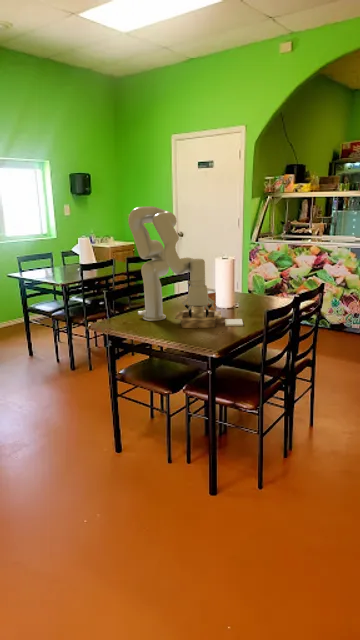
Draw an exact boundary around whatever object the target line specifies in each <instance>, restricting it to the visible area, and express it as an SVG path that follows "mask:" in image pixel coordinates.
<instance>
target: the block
mask: <svg viewBox="0 0 360 640" xmlns="http://www.w3.org/2000/svg"><path fill="white" fill-rule="evenodd" d="M192 310H193V313H194V318H204V307H203V306H192Z"/></svg>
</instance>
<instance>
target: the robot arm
mask: <svg viewBox="0 0 360 640" xmlns="http://www.w3.org/2000/svg"><path fill="white" fill-rule="evenodd" d="M127 220H128V221H127V222H128V225H129V229H130V232H131V234H132V237H133V239H134V240H133V241H134V243H135V247H136V250H137V254H138V256H139V258H140V259H142V260H148V259H151V260H149V261H146V262H145V263H143V264H142V266H141V270H140V273H141V276H142V281H143V291H144V292H143V293H144V308H145V309H144V310H138V311H137V315H139V316H142V319H143V320H144V321H147V322H148V321H150V322H156V321H158V322H159V321H162V320H165V319H166V317H167V316H166V314H164V308H163V289H162V283H161V280H160V278H162V277H164V276H166V275H167V274H168V273H169V271H172V272H173V274H176V275H182V274H187V273H190V274H189V276H190V277H189V278H190V279H189V280H188V281H187V285H189V286H188V291H187V292H188V295H187V296H188V297H186V299H184V300H183V301H182V305H183V306H184V307H185V309H186V310H189V316H190V318H191V317H192V310H193V309H192V308H193V306H205V307H206V317H207V315H209V309H210V308H211V307H212V305H213V304H214V301H213V300H212V299H210V298H209V297H208V291H209V290H208V286H207V285H206V262H205V259H203V258H192V257H187V256H186V257H183V258H180V256H179V254H178V253H177V248H176V247H177V244H178V243H177V242H178V241H179V234H178V233H177V231H176V229H175V226H176V225H177V222H178V221H177V217H176V215H175V214H174V213H173V212H171V211H170V210H169V211H168V210H165V209H162V208H160V207H158V206H137V207H135V208H133V209H132V210H131V211H130V213H129V215H128V219H127ZM150 223H151V224H152V225H153V226H154V228H155V230H156V232H157V234H158V235H159V238H160V240H161V241H162V242H160V241H159V240H158V239H151V235H150V233H149V230H148V229H147V227H146V226H145V224H150ZM162 243H163V244H162ZM163 245H164V246H163ZM208 300H209V301H210V302H211V304H210V305H209V306H208Z"/></svg>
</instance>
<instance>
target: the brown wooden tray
mask: <svg viewBox="0 0 360 640" xmlns="http://www.w3.org/2000/svg"><path fill="white" fill-rule="evenodd" d="M191 310H192V317H191V318H190V316H189V310H188V309H185V310H182V311H176V315H175V318H174V319H175V320H180V324H181V329H185V328H186V329H188V328H189V329H190V328H198V327H199V328H200V329H202V328H216V320H217V319H222V311H221V310H218V311H217V310H216V311H215V310H209V315H207V317H206V310H204V318H194V313H193V309H191ZM199 328H198V329H199Z"/></svg>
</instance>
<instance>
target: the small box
mask: <svg viewBox="0 0 360 640" xmlns="http://www.w3.org/2000/svg"><path fill="white" fill-rule="evenodd" d="M208 297H209V298H210V299H212V300H213V301H214V304H213V305H212V307H211V308H210V309H209V310H215V311H217V302H216V300H217V299H216V298H217V295H216V291H213V290H208ZM210 304H211V302H210V301H209V300H208V306H209V305H210ZM203 307H204V310H206V307H205V306H203Z"/></svg>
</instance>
